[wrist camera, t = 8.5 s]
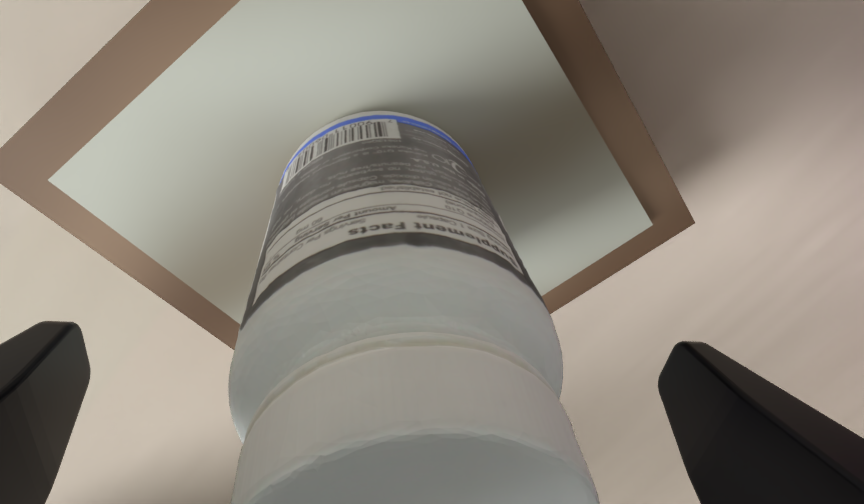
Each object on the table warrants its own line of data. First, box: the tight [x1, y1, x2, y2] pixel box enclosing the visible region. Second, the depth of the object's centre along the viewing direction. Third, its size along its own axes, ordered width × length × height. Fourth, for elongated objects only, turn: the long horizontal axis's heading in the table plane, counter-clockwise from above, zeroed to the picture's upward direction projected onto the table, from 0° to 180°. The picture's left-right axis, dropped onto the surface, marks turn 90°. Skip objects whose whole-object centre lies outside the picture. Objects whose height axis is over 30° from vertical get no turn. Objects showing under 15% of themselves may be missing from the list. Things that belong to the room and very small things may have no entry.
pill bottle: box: [229, 111, 600, 504], centre depth 9 cm, size 5×5×8 cm
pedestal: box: [0, 0, 695, 350], centre depth 14 cm, size 12×12×3 cm
